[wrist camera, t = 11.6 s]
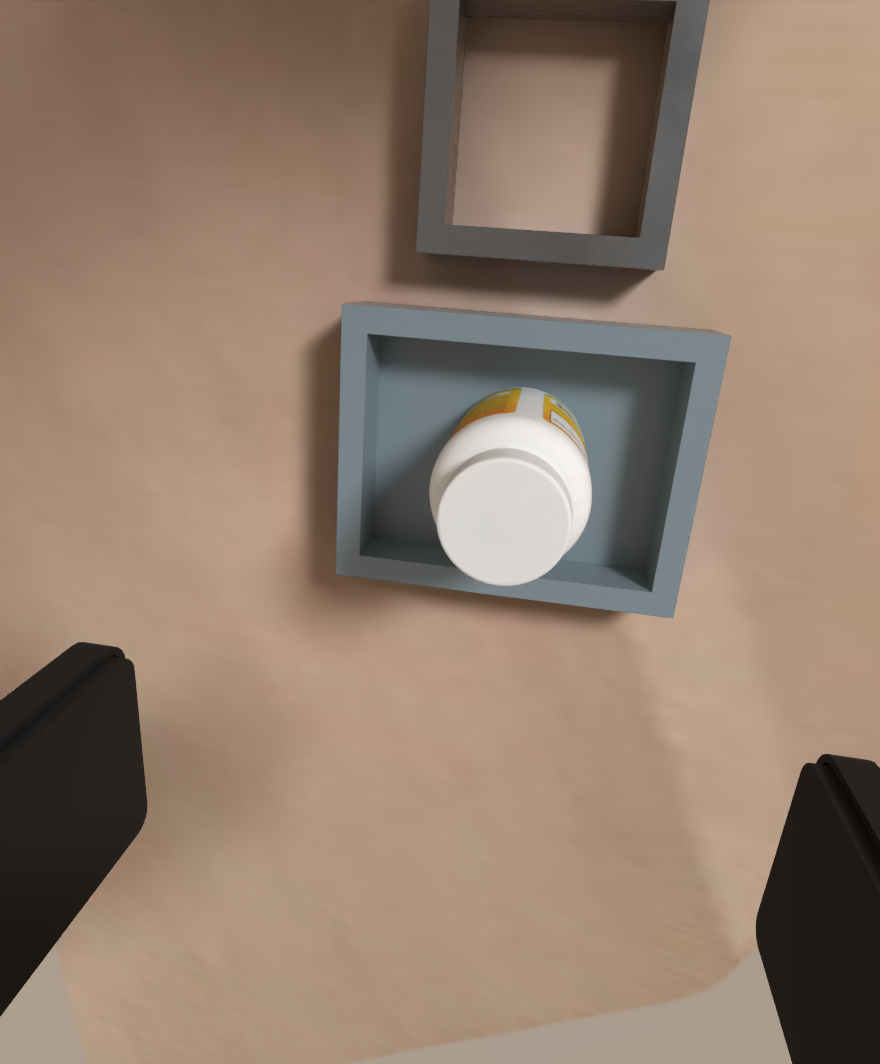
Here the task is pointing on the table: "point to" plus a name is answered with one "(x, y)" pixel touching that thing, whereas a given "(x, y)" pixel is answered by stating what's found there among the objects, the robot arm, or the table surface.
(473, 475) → the supplement bottle
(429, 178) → the cradle
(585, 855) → the table surface
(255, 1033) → the table surface
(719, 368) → the tray
